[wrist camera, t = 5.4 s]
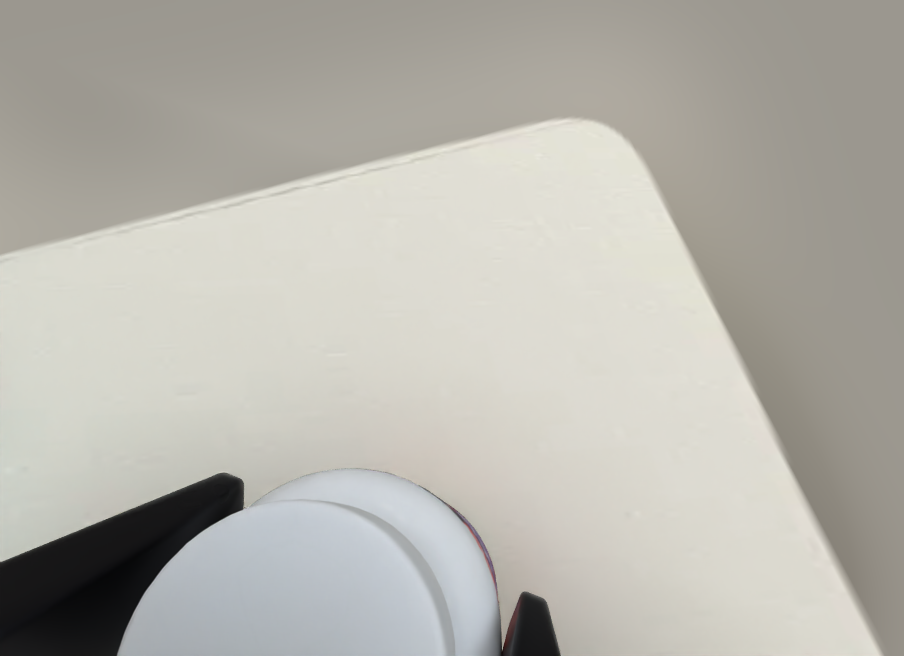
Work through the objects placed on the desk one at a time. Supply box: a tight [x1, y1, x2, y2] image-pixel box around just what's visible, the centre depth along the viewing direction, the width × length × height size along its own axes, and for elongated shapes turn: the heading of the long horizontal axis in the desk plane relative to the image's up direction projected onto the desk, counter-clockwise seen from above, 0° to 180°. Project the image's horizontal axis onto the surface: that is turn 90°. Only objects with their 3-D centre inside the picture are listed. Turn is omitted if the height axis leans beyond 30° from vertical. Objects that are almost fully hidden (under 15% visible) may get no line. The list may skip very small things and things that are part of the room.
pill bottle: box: [117, 469, 502, 656], centre depth 10 cm, size 5×5×10 cm
